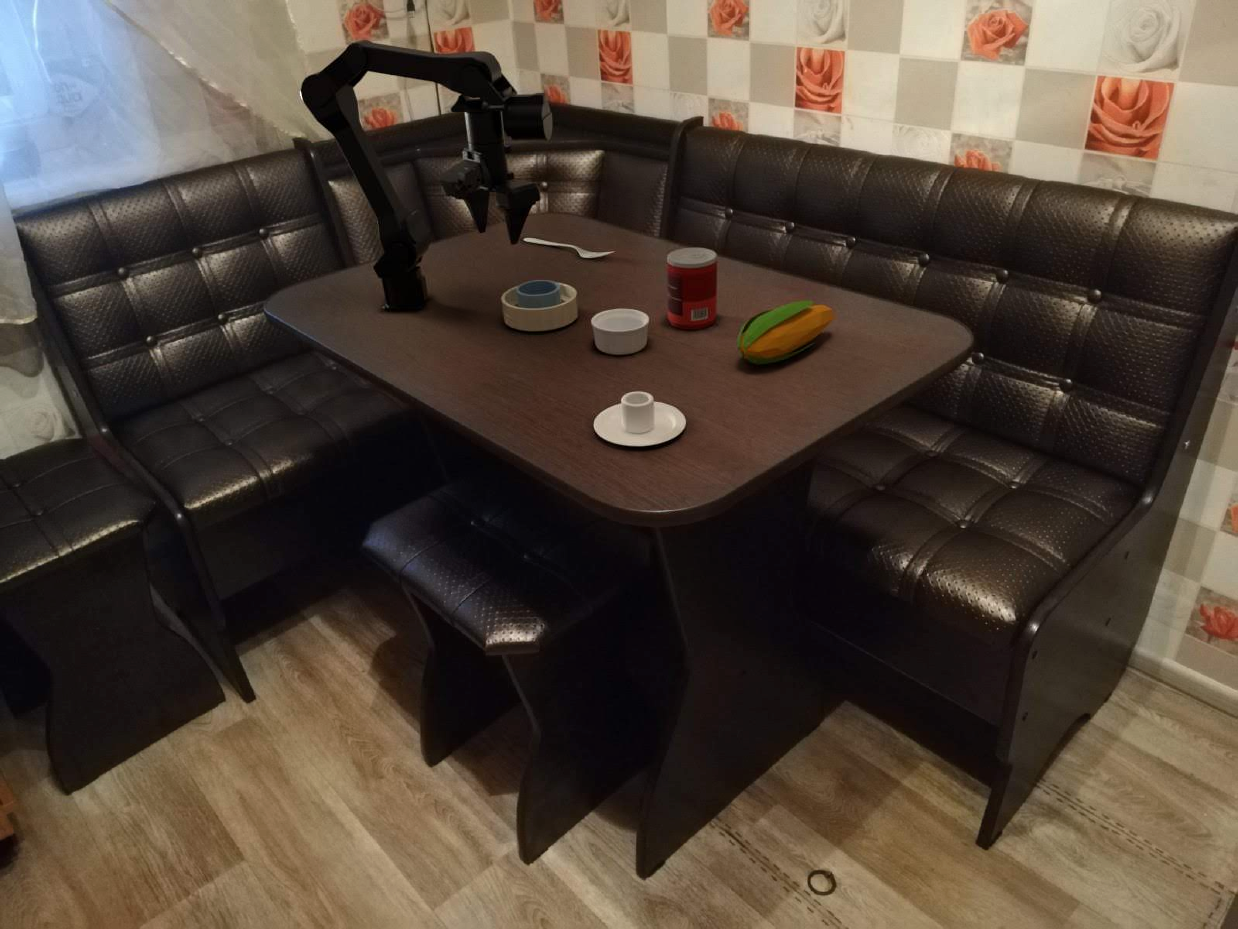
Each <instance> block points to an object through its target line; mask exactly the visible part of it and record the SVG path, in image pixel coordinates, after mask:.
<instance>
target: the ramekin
mask: <svg viewBox="0 0 1238 929" xmlns="http://www.w3.org/2000/svg"><path fill="white" fill-rule="evenodd" d="M590 323H591V327H592V331H593V336H594V337H593V338H594V344H595V347H596V348H597V349H598V350H599V351H601V352H602V353H605V354H608V355H615V356H616V355H617V356H623V355H624V356H625V355H630V354H634V353H637V352H640V351H641V350H643V349H644V348H645V347H646V345H647V342H648V331H649V330H648V329H649V323H650V317H649V315H648V314H647V313H645V312H643V311H641V310H637V309H632V308H614V309H608V310H603V311H601V312H598V313H596V314H595V315H593V317H592V318H591V320H590Z"/></svg>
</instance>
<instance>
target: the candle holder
mask: <svg viewBox="0 0 1238 929" xmlns="http://www.w3.org/2000/svg"><path fill="white" fill-rule="evenodd" d="M654 399H655V398H654V396H653V395H652V394H651V393H649V392H645V391H631V392H628V393H625V394H624V395H622V397H621V399H620V403H618V404H615V405H612V406H609V407H608V408H606V409H604V410H602V411H601V412H600V413H599V414H598V415H597V416H596V417H595V418H594V421H593V428H594V431H595V433H597V435H598V436H599V437H600V438H602V439H603V440H605V441H607V442H609V443H612V444H616V445H621V446H627V447H648V446H654V445H659V444H663V443H666V442H668V441H670V440H673V439H675V438H676V437H677V436H679V435H680V434H681V433H682V432H683V431H684V429H685V428H686V425H687V420H686V416H685V414H683V412H682V411H680V410H679V409H678V408H677V407H675V406H673V405H671V404H667V403H664V402H660V401H655V400H654Z"/></svg>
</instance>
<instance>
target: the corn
mask: <svg viewBox="0 0 1238 929" xmlns="http://www.w3.org/2000/svg"><path fill="white" fill-rule="evenodd" d="M813 304H814V301H813V300H801V301H793V302H790V303H787V304H784V305H781V306H779V307H776V308H774V309H770V310H769V309H768V310H765V311H762V312H759V313H758V314H756V315H753V316H752V317H750V318H749V319H748V320H747V321H746V322H745V323H744V324H743V325H742V326H741V327H740V330H739V333H738V335H737V339H736V345H737V347H738V351H739V354H740V356H741V359H743V360H745V361H748V362H749V363H750V364H754V365H759V366H760V365H767V364H772V363H773V364H774V363H776V362H781V361H784V360H786V359H789V358H790V357H793V356H795V355H798V354H800V353H801V352H803V351H804V350H806V349H808V348H809V347H811V346H813V345H814V344H816V342H812V343H811V344H809V345H807V344H808V343H810V342H811V341H812V340H813V339H815V338H816V337H817V336H818V335H820V334H821V333H822V331H824V330H825V328H827V327H828V326H829V325H830V324H831V323H832V322H833V321H834V320H835V310H834V309H832V308H830V307H829V306H827V305H824V304H816V305H813ZM798 349H799V350H798Z"/></svg>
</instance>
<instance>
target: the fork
mask: <svg viewBox="0 0 1238 929" xmlns="http://www.w3.org/2000/svg"><path fill="white" fill-rule="evenodd" d="M523 241H525V242H527V243H534V244H539V245H547V246H555V247H567V248H571V249H575V250H576V251H577V252H578V254H579V256H580V257H582V258H584V259H593V258H594V259H595V258H600V257H604V256H605V257H606V256H608V255H610V254H613V253H615V252H616V251H615V250H613V251H606V252H595V251H590V250H589V251H588V250H585V249H582V248H580V247H578V246H577V245H574V244H573V245H572V244H566V243H558V242H553V241H549V240H543V239H540V238H535V237H525V238H523Z"/></svg>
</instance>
